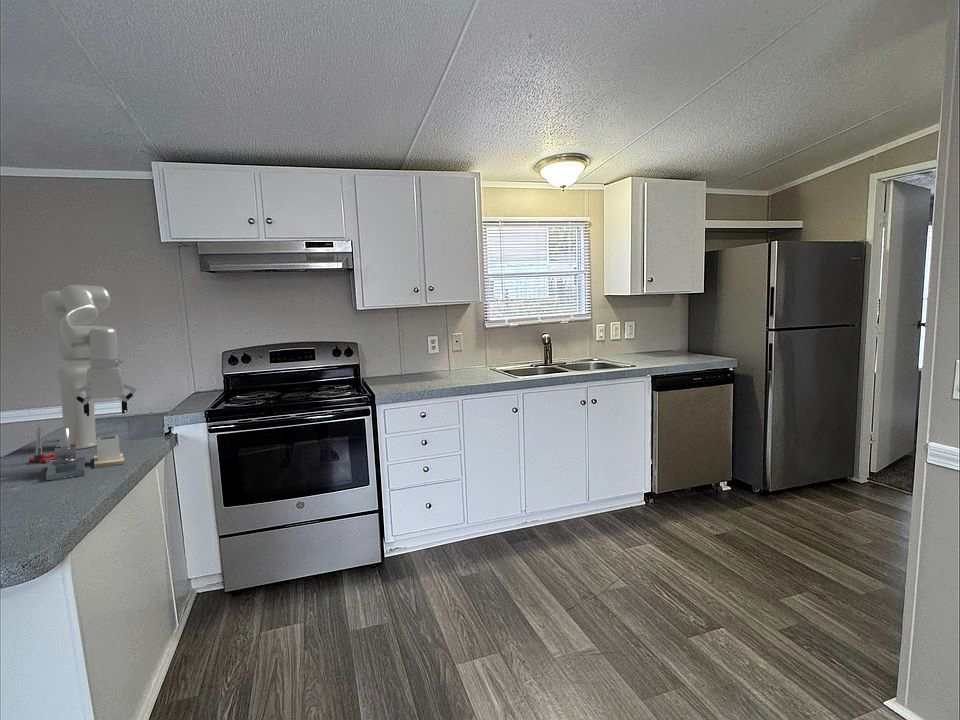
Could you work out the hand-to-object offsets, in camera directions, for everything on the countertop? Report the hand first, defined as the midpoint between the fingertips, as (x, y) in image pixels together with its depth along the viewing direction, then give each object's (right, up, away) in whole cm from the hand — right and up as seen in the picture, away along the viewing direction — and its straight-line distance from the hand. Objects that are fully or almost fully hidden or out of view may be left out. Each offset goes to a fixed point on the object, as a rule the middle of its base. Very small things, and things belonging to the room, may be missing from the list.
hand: (105, 414), depth 170 cm
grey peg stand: (-4, -17, -11) cm, 21 cm away
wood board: (0, -16, +1) cm, 16 cm away
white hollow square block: (0, -15, +1) cm, 15 cm away
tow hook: (-21, -16, +3) cm, 27 cm away
